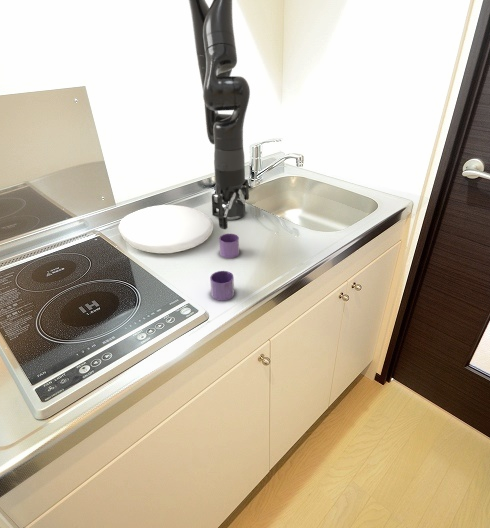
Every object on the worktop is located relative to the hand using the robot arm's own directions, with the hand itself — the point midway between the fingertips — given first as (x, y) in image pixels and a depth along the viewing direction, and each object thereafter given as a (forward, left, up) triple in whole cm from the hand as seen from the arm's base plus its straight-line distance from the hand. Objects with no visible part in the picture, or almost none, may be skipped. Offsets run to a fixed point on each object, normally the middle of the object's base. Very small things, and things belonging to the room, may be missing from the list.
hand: (232, 222), depth 101 cm
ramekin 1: (+1, -1, -10) cm, 10 cm away
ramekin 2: (+17, +11, -10) cm, 22 cm away
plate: (+5, -23, -10) cm, 26 cm away
